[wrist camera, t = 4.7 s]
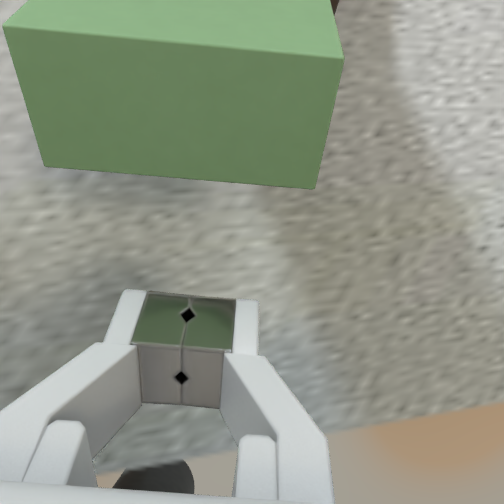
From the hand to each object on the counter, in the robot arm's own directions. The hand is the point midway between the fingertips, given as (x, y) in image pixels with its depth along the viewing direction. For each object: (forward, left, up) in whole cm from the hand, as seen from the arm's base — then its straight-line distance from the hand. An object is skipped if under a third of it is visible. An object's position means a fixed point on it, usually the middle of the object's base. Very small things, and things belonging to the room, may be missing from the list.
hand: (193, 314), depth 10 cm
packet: (+9, +1, -4) cm, 10 cm away
